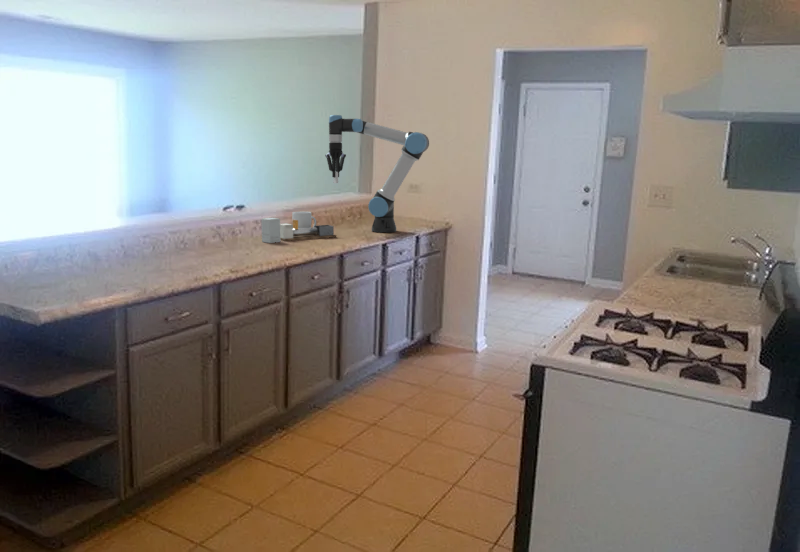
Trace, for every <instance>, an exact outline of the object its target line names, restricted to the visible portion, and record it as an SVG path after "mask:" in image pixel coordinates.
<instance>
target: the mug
mask: <svg viewBox="0 0 800 552" xmlns="http://www.w3.org/2000/svg"><path fill="white" fill-rule="evenodd" d="M312 215H313V214H312V211H292V222H293V220H298V228H312V227H314V226H317V219H316V217H315V216H312ZM312 219H313V220H312ZM312 221H313V222H314V223H313V226H312Z"/></svg>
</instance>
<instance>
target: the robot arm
mask: <svg viewBox="0 0 800 552" xmlns="http://www.w3.org/2000/svg"><path fill="white" fill-rule="evenodd" d="M343 133H357V134H361V135H366V136H369V137H373V138H376V139H380V140H384V141H387V142H390V143H394V144H398V145H401V146H402V147H401V155H400V156H399V158H398V159H397V162H396V164H395V165H394V167H393V168H392V170H391V172H390V173H389V175H388V177H387V179H386V180H385V182H384V184H383V186H382V187H381V188H380V189H377V191H376V193H375V194H374V196H373V198H372V197H371V199H370V200H369V202H368V211H369V213H370V214H371V215H372V216H374V219H373V222H372V225H371V232H373V231H374V233H382V232H386V233H396V232H397V225H396V221H395V218H394V216H395V215H394V213H395V209H394V208H395V200H396V199H395V196H396V194H397V193H398V190H399V188H401V186H402V183H404V180H405V179H406V177H407V175H408V173H409V172H410V170H411V168H412V167H413V165H414V164H415V162H417V161H419V160H420V158H421V157H422V156H423V154H424V152H426V151H427V150H428V148H429V146H430V139H429V137H428V136H427V135H426V134H424V132H423V133H422V132H416V131H415V132H412V131H408V132H406V131H403V130H402V131H401V130H398V129H395V128H391V127H388V126H383V125H380V124H376V123H372V122H370V121H364V120H363V119H361V118H343V116H342V115H340V114H330V115H329V118H328V141H329V143H328V149H329V150H328V152H327V153H326V154H325V158H326V161H327V165H328V169H329V170H328V171H330V172H331V173H332V178H333V183H334V184H339V178H340V172H341V171H343V168H344V163H345V158H346V157H347V154H345V153H344V151H343Z"/></svg>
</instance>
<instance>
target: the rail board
mask: <svg viewBox="0 0 800 552" xmlns="http://www.w3.org/2000/svg"><path fill="white" fill-rule="evenodd" d="M329 237H333V238H337V235H336V234H334V235H328V236H319V235H305V236H293V238H289V239H283V238H280V239H281V241H282V240H283V241H282V242H291V240H294V241H306V240H317V239H318V240H319V239H330V238H329Z"/></svg>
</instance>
